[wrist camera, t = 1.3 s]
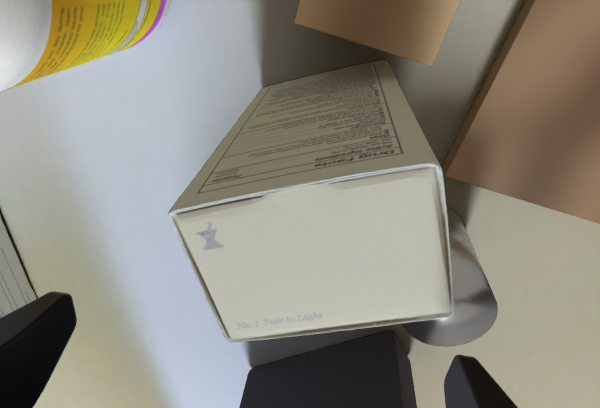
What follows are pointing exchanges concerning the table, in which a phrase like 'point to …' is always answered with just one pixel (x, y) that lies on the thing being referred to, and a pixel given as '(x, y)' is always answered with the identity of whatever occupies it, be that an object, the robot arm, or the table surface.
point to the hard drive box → (12, 277)
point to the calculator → (336, 377)
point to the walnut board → (539, 112)
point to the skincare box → (320, 212)
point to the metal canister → (460, 296)
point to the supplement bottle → (69, 33)
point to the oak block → (383, 23)
